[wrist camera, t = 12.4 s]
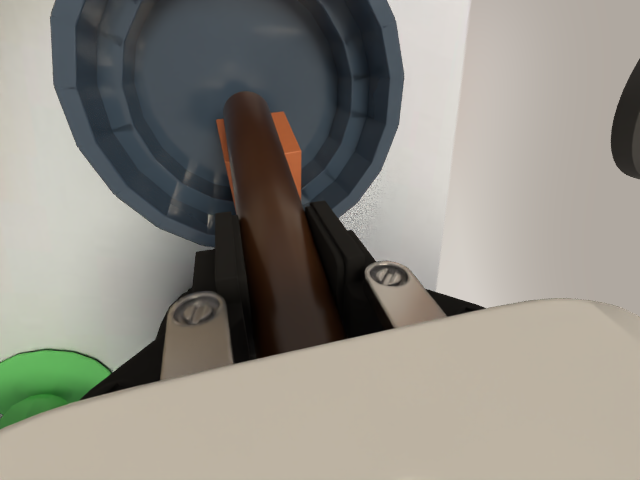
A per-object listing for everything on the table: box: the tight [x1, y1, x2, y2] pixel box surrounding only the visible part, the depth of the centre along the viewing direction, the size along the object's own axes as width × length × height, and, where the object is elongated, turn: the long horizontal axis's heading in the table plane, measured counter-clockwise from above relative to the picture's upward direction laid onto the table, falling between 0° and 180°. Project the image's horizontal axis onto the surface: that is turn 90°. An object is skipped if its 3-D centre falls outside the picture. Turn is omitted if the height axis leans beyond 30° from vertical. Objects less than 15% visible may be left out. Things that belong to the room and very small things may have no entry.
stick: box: [223, 91, 348, 359], centre depth 12 cm, size 2×2×14 cm
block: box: [216, 112, 301, 214], centre depth 19 cm, size 4×4×4 cm
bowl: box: [50, 0, 404, 247], centre depth 18 cm, size 16×16×6 cm
